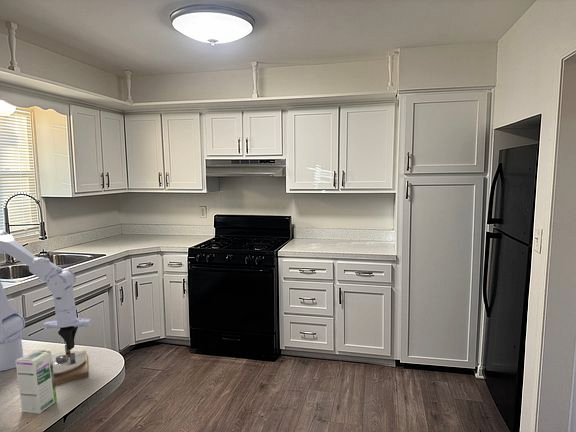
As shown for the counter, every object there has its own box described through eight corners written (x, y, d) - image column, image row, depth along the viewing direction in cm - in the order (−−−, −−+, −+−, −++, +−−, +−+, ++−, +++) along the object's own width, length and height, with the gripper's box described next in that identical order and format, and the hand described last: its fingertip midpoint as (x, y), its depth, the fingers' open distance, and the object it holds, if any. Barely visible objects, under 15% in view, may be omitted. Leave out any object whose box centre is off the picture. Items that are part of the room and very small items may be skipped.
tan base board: (38, 365, 125) (37, 359, 125) (86, 354, 132) (86, 349, 132) (33, 390, 110) (33, 383, 110) (88, 376, 117) (87, 370, 117)
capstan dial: (49, 357, 126) (47, 344, 126) (91, 353, 128) (90, 340, 128) (28, 378, 114) (27, 363, 113) (75, 373, 115) (74, 359, 115)
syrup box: (39, 414, 99) (34, 360, 97) (20, 412, 100) (14, 359, 98) (57, 401, 104) (52, 350, 103) (38, 399, 106) (33, 349, 104)
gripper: (94, 302, 128) (98, 341, 129) (50, 305, 128) (56, 344, 130) (82, 310, 121) (87, 351, 122) (37, 313, 121) (42, 354, 123)
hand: (70, 348), depth 125 cm, fingers closed, pressing on capstan dial
